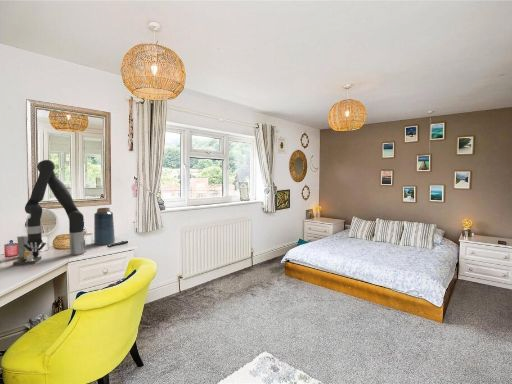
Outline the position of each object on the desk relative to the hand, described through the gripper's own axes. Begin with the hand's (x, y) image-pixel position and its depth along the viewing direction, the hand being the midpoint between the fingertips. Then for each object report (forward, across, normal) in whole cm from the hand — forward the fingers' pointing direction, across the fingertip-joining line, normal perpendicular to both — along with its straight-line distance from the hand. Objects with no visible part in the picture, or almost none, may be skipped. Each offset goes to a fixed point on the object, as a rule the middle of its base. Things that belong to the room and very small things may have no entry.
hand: (35, 256), depth 187 cm
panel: (+4, +5, 0) cm, 6 cm away
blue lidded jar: (+4, -33, -44) cm, 55 cm away
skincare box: (+4, +13, -17) cm, 22 cm away
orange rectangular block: (+1, +5, 0) cm, 5 cm away
